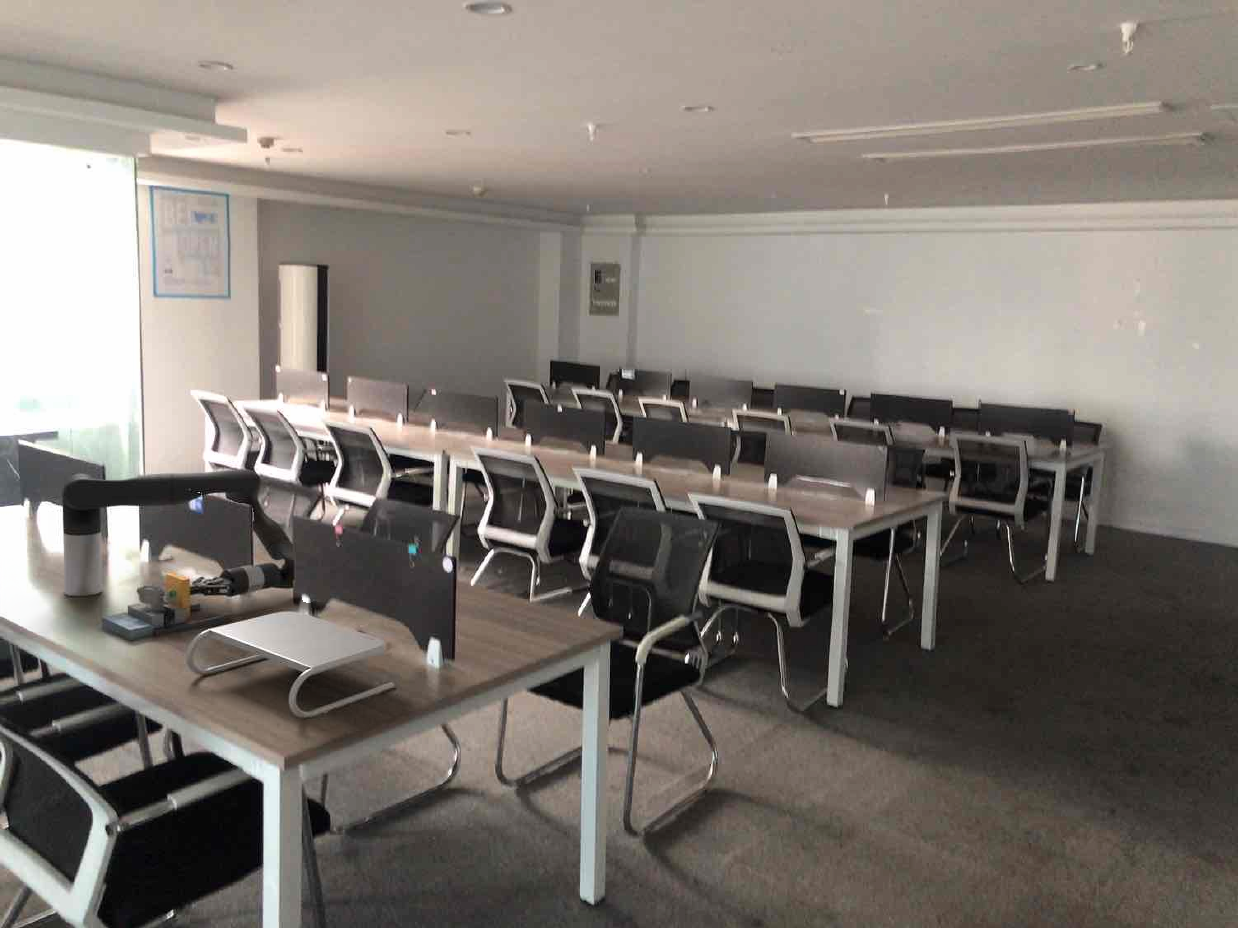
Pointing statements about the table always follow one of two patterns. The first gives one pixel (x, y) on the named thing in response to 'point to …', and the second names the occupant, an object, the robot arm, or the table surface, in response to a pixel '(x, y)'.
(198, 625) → the vise body
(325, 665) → the monitor stand
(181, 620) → the free jaw
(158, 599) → the mechanical component
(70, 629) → the table surface
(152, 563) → the table surface
